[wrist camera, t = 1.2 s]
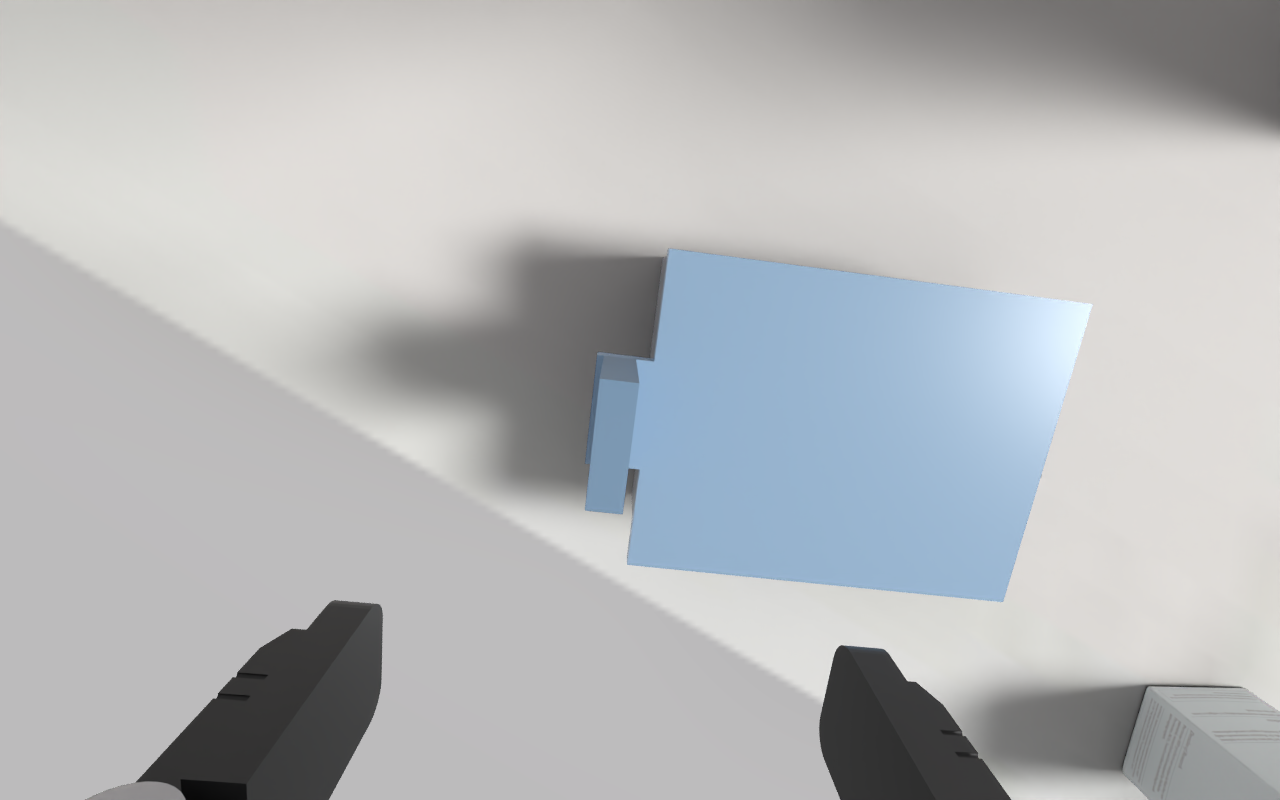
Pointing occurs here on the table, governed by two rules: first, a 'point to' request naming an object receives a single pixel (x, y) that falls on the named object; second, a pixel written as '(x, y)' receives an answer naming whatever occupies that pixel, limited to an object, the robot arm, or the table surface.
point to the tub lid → (833, 426)
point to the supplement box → (1205, 745)
